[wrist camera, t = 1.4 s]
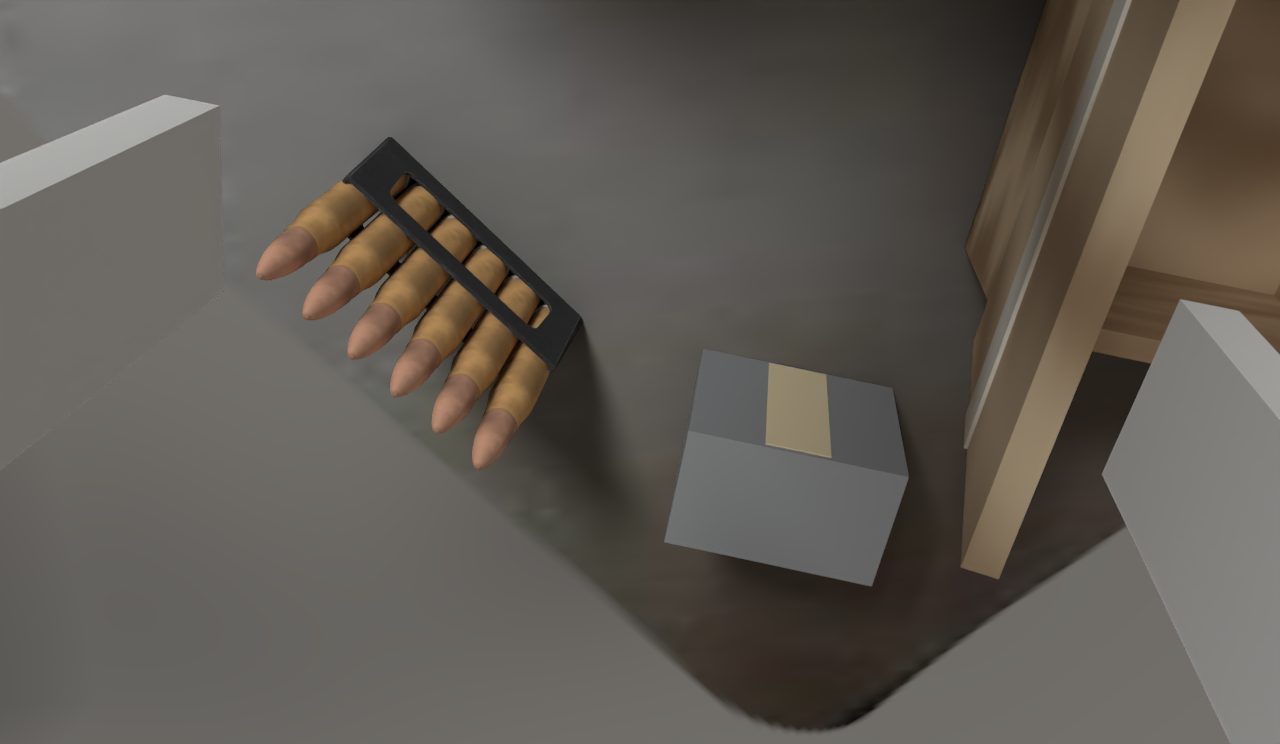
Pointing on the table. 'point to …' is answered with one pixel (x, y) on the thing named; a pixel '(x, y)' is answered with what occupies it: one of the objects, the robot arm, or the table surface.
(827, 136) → the table surface
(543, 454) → the table surface
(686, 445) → the grey taped box
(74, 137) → the robot arm
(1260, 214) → the crate
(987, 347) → the lid
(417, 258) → the ammunition clip
